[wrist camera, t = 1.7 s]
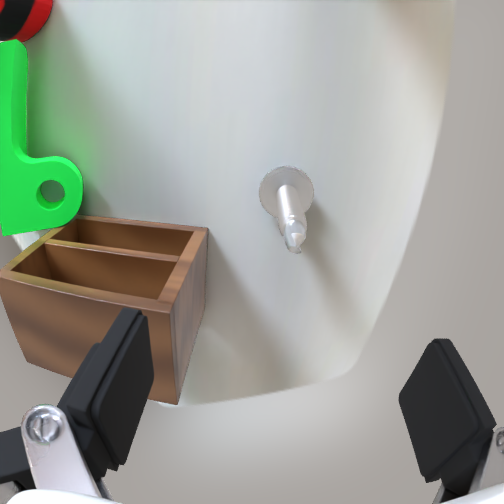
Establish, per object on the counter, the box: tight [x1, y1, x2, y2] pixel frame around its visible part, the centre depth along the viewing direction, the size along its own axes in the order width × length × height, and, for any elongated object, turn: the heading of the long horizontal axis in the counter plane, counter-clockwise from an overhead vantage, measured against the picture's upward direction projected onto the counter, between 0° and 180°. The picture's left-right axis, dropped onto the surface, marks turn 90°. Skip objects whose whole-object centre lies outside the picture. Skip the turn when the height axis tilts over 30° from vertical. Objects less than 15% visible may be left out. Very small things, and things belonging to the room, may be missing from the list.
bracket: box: [0, 39, 83, 236], centre depth 25 cm, size 20×10×7 cm
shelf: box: [0, 215, 208, 405], centre depth 27 cm, size 10×16×14 cm, turn 84°
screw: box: [259, 166, 314, 254], centre depth 23 cm, size 13×5×5 cm
